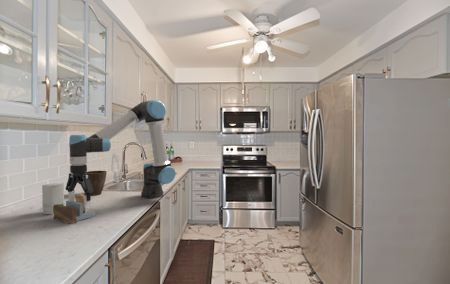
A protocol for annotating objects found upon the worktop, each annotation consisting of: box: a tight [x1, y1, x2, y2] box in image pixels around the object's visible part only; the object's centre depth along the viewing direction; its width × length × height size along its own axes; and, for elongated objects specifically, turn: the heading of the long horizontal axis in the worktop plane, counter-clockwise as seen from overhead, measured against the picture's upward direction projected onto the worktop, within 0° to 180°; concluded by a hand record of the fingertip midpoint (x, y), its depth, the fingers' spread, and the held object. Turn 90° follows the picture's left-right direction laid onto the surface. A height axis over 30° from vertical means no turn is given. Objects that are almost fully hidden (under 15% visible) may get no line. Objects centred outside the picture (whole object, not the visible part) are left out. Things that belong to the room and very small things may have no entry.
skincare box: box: [41, 182, 65, 215], centre depth 140 cm, size 8×7×16 cm
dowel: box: [75, 193, 86, 213], centre depth 133 cm, size 4×4×11 cm
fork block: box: [65, 199, 95, 222], centre depth 132 cm, size 10×12×8 cm
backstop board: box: [53, 204, 78, 225], centre depth 126 cm, size 2×16×7 cm, turn 61°
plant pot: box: [85, 170, 108, 196], centre depth 182 cm, size 15×15×16 cm
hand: (79, 205), depth 133 cm, fingers open, 13 cm apart
